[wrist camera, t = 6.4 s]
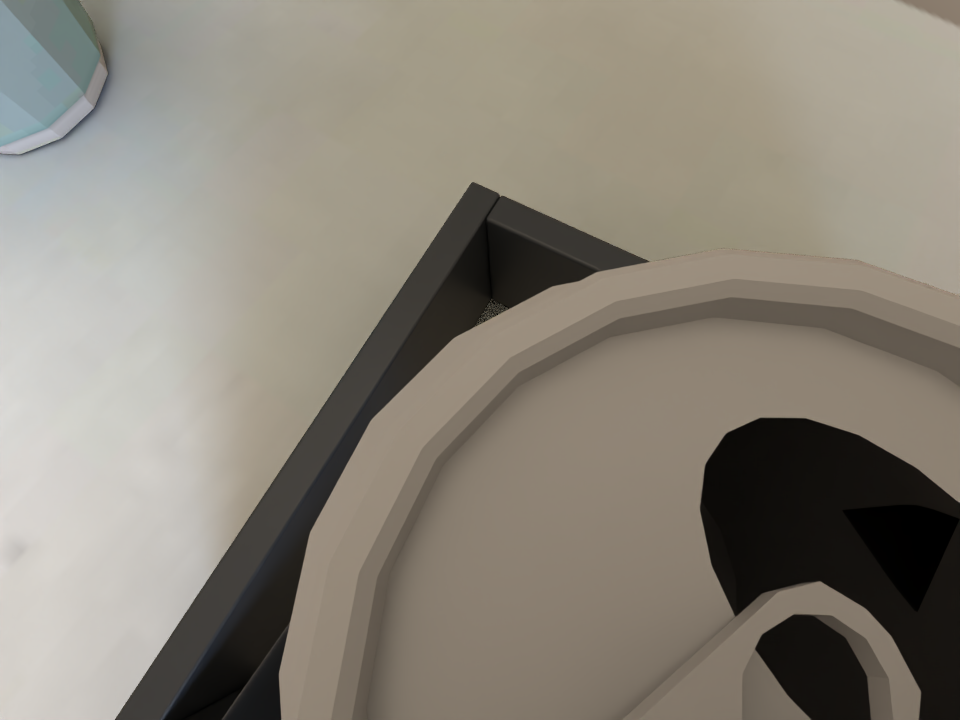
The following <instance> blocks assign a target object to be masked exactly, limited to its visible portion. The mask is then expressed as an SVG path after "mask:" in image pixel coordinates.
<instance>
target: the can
mask: <svg viewBox="0 0 960 720" xmlns="http://www.w3.org/2000/svg"><path fill="white" fill-rule="evenodd" d="M892 505H918V506H922V507H926V508H930V509H934V510H936V511H939V512H942V513H945V514H948V515H950V516H953V517H956V518H959V519H960V296H958V295H955V294H953V293H950V292H947V291H944V290H941V289H938V288H935V287H933V286H930V285H927V284H924V283H921V282H918V281H916V280H913V279H910V278H907V277H904V276H901V275H898V274H896V273H893V272H890V271H887V270H884V269H881V268H878V267H876V266H873V265H870V264H867V263H864V262H861V261H859V260H852V259H840V258H829V257H817V256H806V255H794V254H783V253H771V252H760V251H748V250H737V249H725V248H721V249H716V250H710V251H705V252H700V253H695V254H689V255H684V256H679V257H674V258H668V259H663V260H658V261H653V262H647V263H642V264H637V265H632V266H626V267H621V268H616V269H611V270H605V271H600V272H596V273H594V274H592V275H590V276H588V277H587V278H585V279H583V280H581V281H578V282H573V283H568V284H562V285H557V286H552V287H551V288H549V289H547V290H545V291H543V292H541V293H539V294H537V295H535V296H533V297H531V298H529V299H528V300H526V301H524V302H522V303H520V304H518V305H516V306H514V307H512V308H510V309H508V310H507V311H505V312H503V313H501V314H499V315H497V316H495V317H493V318H491V319H489V320H487V321H485V322H484V323H482V324H480V325H478V326H476V327H474V328H472V329H470V330H468V331H466V332H464V333H463V334H461V335H459V336H457V337H455V338H453V339H452V340H451V341H450V342H449V343H448V344H447V345H446V346H445V347H444V348H443V349H442V350H441V351H440V352H439V353H438V354H437V355H436V356H435V357H434V358H433V359H432V360H431V361H430V362H429V363H428V364H427V365H426V366H425V367H424V368H423V369H422V370H421V371H420V372H419V373H418V374H417V375H416V376H415V377H414V378H413V379H412V380H411V381H410V382H409V383H408V384H407V385H406V386H405V387H404V388H403V389H402V390H401V391H400V392H399V393H398V394H397V395H396V396H395V397H394V398H393V399H392V400H391V401H390V402H389V403H388V404H387V405H386V406H385V407H384V408H383V409H382V410H381V411H380V412H379V413H378V414H377V415H376V416H375V417H374V418H373V419H372V420H371V421H370V423H369V425H368V427H367V428H366V430H365V432H364V434H363V436H362V438H361V440H360V441H359V443H358V445H357V447H356V449H355V451H354V452H353V454H352V456H351V458H350V460H349V462H348V463H347V465H346V467H345V469H344V471H343V473H342V474H341V476H340V478H339V480H338V482H337V484H336V486H335V487H334V489H333V491H332V493H331V495H330V497H329V498H328V500H327V502H326V504H325V506H324V508H323V509H322V511H321V513H320V515H319V517H318V519H317V521H316V522H315V524H314V526H313V528H312V530H311V532H310V535H309V539H308V544H307V548H306V553H305V557H304V562H303V566H302V571H301V576H300V580H299V585H298V589H297V594H296V598H295V603H294V607H293V612H292V616H291V621H290V626H289V630H288V635H287V639H286V644H285V648H284V653H283V657H282V662H281V667H280V671H279V685H280V704H281V720H960V520H959V522H958V524H957V526H956V528H955V531H954V533H953V535H952V537H951V539H950V542H949V544H948V546H947V548H946V550H945V553H944V555H943V557H942V559H941V561H940V564H939V566H938V568H937V570H936V572H935V575H934V577H933V579H932V581H931V583H930V586H929V588H928V590H927V592H926V594H925V597H924V599H923V601H922V603H921V605H920V608H919V610H918V612H916V611H914V609H913V608H912V607H911V606H910V605H909V604H908V602H907V601H906V600H905V599H904V597H903V596H902V595H901V594H900V592H899V591H898V590H897V589H896V587H895V586H894V584H893V583H892V582H891V580H890V579H889V578H888V576H887V575H886V574H885V572H884V571H883V569H882V568H881V566H880V565H879V563H878V562H877V561H876V559H875V558H874V556H873V555H872V553H871V552H870V550H869V549H868V547H867V546H866V545H865V543H864V542H863V540H862V539H861V537H860V536H859V534H858V533H857V532H856V530H855V529H854V527H853V526H852V524H851V523H850V521H849V520H848V519H847V517H846V516H845V514H844V513H843V511H842V510H847V509H859V508H870V507H881V506H892Z"/></svg>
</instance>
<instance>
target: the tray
mask: <svg viewBox="0 0 960 720" xmlns="http://www.w3.org/2000/svg"><path fill="white" fill-rule="evenodd" d="M647 262H649V261H647V260H645V259H642V258H640V257H638V256H636V255H633V254H631V253H629V252H627V251H625V250H622V249H620V248H618V247H616V246H613V245H611V244H609V243H607V242H605V241H602V240H600V239H598V238H596V237H593V236H591V235H589V234H587V233H585V232H582V231H580V230H578V229H576V228H573V227H571V226H569V225H567V224H565V223H562V222H560V221H558V220H556V219H553V218H551V217H549V216H547V215H545V214H542V213H540V212H538V211H536V210H533V209H531V208H529V207H527V206H525V205H522V204H520V203H518V202H516V201H513V200H511V199H509V198H507V197H505V196H501V197H500V195H499V194H498V193H496V192H494V191H492V190H490V189H488V188H485V187H483V186H481V185H479V184H476V183H474V182H472V183H471V184H470V186H469V187H468V189H467V190H466V192H465V193H464V195H463V196H462V198H461V199H460V201H459V202H458V204H457V205H456V207H455V208H454V210H453V211H452V213H451V214H450V216H449V217H448V219H447V220H446V222H445V223H444V225H443V227H442V228H441V230H440V231H439V233H438V234H437V236H436V237H435V239H434V240H433V242H432V243H431V245H430V246H429V248H428V249H427V251H426V252H425V254H424V255H423V257H422V258H421V260H420V261H419V263H418V264H417V266H416V267H415V269H414V270H413V272H412V273H411V275H410V276H409V278H408V279H407V281H406V282H405V284H404V285H403V287H402V288H401V290H400V291H399V293H398V294H397V296H396V297H395V299H394V300H393V302H392V303H391V305H390V306H389V308H388V309H387V311H386V312H385V314H384V315H383V317H382V318H381V320H380V321H379V323H378V324H377V326H376V327H375V329H374V330H373V332H372V333H371V335H370V336H369V338H368V339H367V341H366V342H365V344H364V345H363V347H362V348H361V350H360V351H359V353H358V354H357V356H356V357H355V359H354V360H353V362H352V364H351V365H350V367H349V368H348V370H347V371H346V373H345V374H344V376H343V377H342V379H341V380H340V382H339V383H338V385H337V386H336V388H335V389H334V391H333V392H332V394H331V395H330V397H329V398H328V400H327V401H326V403H325V404H324V406H323V407H322V409H321V410H320V412H319V413H318V415H317V416H316V418H315V419H314V421H313V422H312V424H311V425H310V427H309V428H308V430H307V431H306V433H305V434H304V436H303V437H302V439H301V440H300V442H299V443H298V445H297V446H296V448H295V449H294V451H293V452H292V454H291V455H290V457H289V458H288V460H287V461H286V463H285V464H284V466H283V467H282V469H281V470H280V472H279V473H278V475H277V476H276V478H275V479H274V481H273V482H272V484H271V485H270V487H269V488H268V490H267V491H266V493H265V494H264V496H263V497H262V499H261V501H260V502H259V504H258V505H257V507H256V508H255V510H254V511H253V513H252V514H251V516H250V517H249V519H248V520H247V522H246V523H245V525H244V526H243V528H242V529H241V531H240V532H239V534H238V535H237V537H236V538H235V540H234V541H233V543H232V544H231V546H230V547H229V549H228V550H227V552H226V553H225V555H224V556H223V558H222V559H221V561H220V562H219V564H218V565H217V567H216V568H215V570H214V571H213V573H212V574H211V576H210V577H209V579H208V580H207V582H206V583H205V585H204V586H203V588H202V589H201V591H200V592H199V594H198V595H197V597H196V598H195V600H194V601H193V603H192V604H191V606H190V607H189V609H188V610H187V612H186V613H185V615H184V616H183V618H182V619H181V621H180V622H179V624H178V625H177V627H176V628H175V630H174V631H173V633H172V634H171V636H170V638H169V639H168V641H167V642H166V644H165V645H164V647H163V648H162V650H161V651H160V653H159V654H158V656H157V657H156V659H155V660H154V662H153V663H152V665H151V666H150V668H149V669H148V671H147V672H146V674H145V675H144V677H143V678H142V680H141V681H140V683H139V684H138V686H137V687H136V689H135V690H134V692H133V693H132V695H131V696H130V698H129V699H128V701H127V702H126V704H125V705H124V707H123V708H122V710H121V711H120V713H119V714H118V716H117V717H116V719H115V720H222V718H223V717H224V716H225V714H226V713H227V711H228V710H229V708H230V707H231V706H232V704H233V703H234V701H235V700H236V698H237V697H238V696H239V694H240V693H241V691H242V690H243V688H244V687H245V686H246V684H247V683H248V681H249V680H250V678H251V677H252V676H253V674H254V673H255V671H256V670H257V668H258V667H259V666H260V664H261V663H262V661H263V660H264V658H265V657H266V656H267V654H268V653H269V651H270V650H271V648H272V647H273V646H274V644H275V643H276V641H277V640H278V638H279V637H280V636H281V634H282V633H283V631H284V630H285V628H286V627H287V626H288V624H289V623H290V621H291V616H292V612H293V607H294V603H295V598H296V594H297V589H298V585H299V580H300V576H301V571H302V566H303V562H304V557H305V553H306V548H307V544H308V539H309V535H310V532H311V530H312V528H313V526H314V524H315V522H316V521H317V519H318V517H319V515H320V513H321V511H322V509H323V508H324V506H325V504H326V502H327V500H328V498H329V497H330V495H331V493H332V491H333V489H334V487H335V486H336V484H337V482H338V480H339V478H340V476H341V474H342V473H343V471H344V469H345V467H346V465H347V463H348V462H349V460H350V458H351V456H352V454H353V452H354V451H355V449H356V447H357V445H358V443H359V441H360V440H361V438H362V436H363V434H364V432H365V430H366V428H367V427H368V425H369V423H370V421H371V420H372V419H373V418H374V417H375V416H376V415H377V414H378V413H379V412H380V411H381V410H382V409H383V408H384V407H385V406H386V405H387V404H388V403H389V402H390V401H391V400H392V399H393V398H394V397H395V396H396V395H397V394H398V393H399V392H400V391H401V390H402V389H403V388H404V387H405V386H406V385H407V384H408V383H409V382H410V381H411V380H412V379H413V378H414V377H415V376H416V375H417V374H418V373H419V372H420V371H421V370H422V369H423V368H424V367H425V366H426V365H427V364H428V363H429V362H430V361H431V360H432V359H433V358H434V357H435V356H436V355H437V354H438V353H439V352H440V351H441V350H442V349H443V348H444V347H445V346H446V345H447V344H448V343H449V342H450V341H451V340H452V339H453V338H455V337H457V336H459V335H461V334H463V333H464V332H466V331H468V330H470V329H472V328H473V327H474V326H475V324H476V322H477V321H478V319H479V318H480V316H481V314H482V313H483V311H484V309H485V308H486V306H487V304H488V303H489V301H490V299H491V298H492V299H493V300H495V301H497V302H499V303H501V304H503V305H505V306H507V307H509V308H512V307H514V306H516V305H518V304H520V303H522V302H524V301H526V300H528V299H529V298H531V297H533V296H535V295H537V294H539V293H541V292H543V291H545V290H547V289H549V288H551V287H552V286H557V285H562V284H568V283H573V282H578V281H581V280H583V279H585V278H587V277H588V276H590V275H592V274H594V273H596V272H600V271H605V270H611V269H616V268H621V267H626V266H632V265H637V264H642V263H647Z"/></svg>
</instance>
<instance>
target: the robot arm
mask: <svg viewBox="0 0 960 720" xmlns="http://www.w3.org/2000/svg"><path fill="white" fill-rule="evenodd" d="M842 511H843V513H844V514H845V516H846V517H847V519H848V520H849V521H850V523H851V524H852V526H853V527H854V529H855V530H856V532H857V533H858V534H859V536H860V537H861V539H862V540H863V542H864V543H865V545H866V546H867V547H868V549H869V550H870V552H871V553H872V555H873V556H874V558H875V559H876V561H877V562H878V563H879V565H880V566H881V568H882V569H883V571H884V572H885V574H886V575H887V576H888V578H889V579H890V580H891V582H892V583H893V584H894V586H895V587H896V589H897V590H898V591H899V592H900V594H901V595H902V596H903V597H904V599H905V600H906V601H907V602H908V604H909V605H910V606H911V607H912V608H913V609H914V611H916V612H918V610H919V608H920V605H921V603H922V601H923V599H924V597H925V594H926V592H927V590H928V588H929V586H930V583H931V581H932V579H933V577H934V575H935V572H936V570H937V568H938V566H939V564H940V561H941V559H942V557H943V555H944V553H945V550H946V548H947V546H948V544H949V542H950V539H951V537H952V535H953V533H954V531H955V528H956V526H957V524H958V522H959V520H960V519H959V518H956V517H953V516H950V515H948V514H945V513H942V512H939V511H936V510H934V509H930V508H926V507H922V506H918V505H892V506H881V507H870V508H859V509H847V510H842ZM289 626H290V623H289V624H288V626H287V627H286V628H285V630H284V631H283V633H282V634H281V636H280V637H279V638H278V640H277V641H276V643H275V644H274V646H273V647H272V648H271V650H270V651H269V653H268V654H267V656H266V657H265V658H264V660H263V661H262V663H261V664H260V666H259V667H258V668H257V670H256V671H255V673H254V674H253V676H252V677H251V678H250V680H249V681H248V683H247V684H246V686H245V687H244V688H243V690H242V691H241V693H240V694H239V696H238V697H237V698H236V700H235V701H234V703H233V704H232V706H231V707H230V708H229V710H228V711H227V713H226V714H225V716H224V717H223V718H222V720H281V704H280V685H279V671H280V667H281V662H282V657H283V653H284V648H285V644H286V639H287V635H288V630H289Z"/></svg>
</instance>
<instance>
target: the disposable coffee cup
mask: <svg viewBox="0 0 960 720" xmlns="http://www.w3.org/2000/svg"><path fill="white" fill-rule="evenodd" d="M107 75H108V72H107V68H106V64H105V60H104V56H103V52H102V48H101V44H100V43H99V41H98V40H97V38H96V34H95V30H94V26H93V22H92V21H91V19H90V18H89V16H88V14H87V13H86V11H85V10H84V8H83V7H82V5H81V4H80V2H79V1H78V0H0V153H2V154H19V155H20V154H22V153H25V152H27V151H30V150H33V149H35V148H38V147H40V146H43V145H45V144H48V143H50V142H53V141H56V140H58V139H61V138H62V137H63V136H65V135H66V134H67V133H68V132H69V131H70V130H71V129H72V128H73V127H74V126H75V125H76V124H78V123H79V122H80V121H81V120H82V119H83V118H84V117H85V116H86V115H87V114H88V113H89V112H90V111H92V110H93V109H94V107H95V105H96V102H97V100H98V97H99V95H100V92H101V90H102V87H103V85H104V82H105V80H106V77H107Z"/></svg>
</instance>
